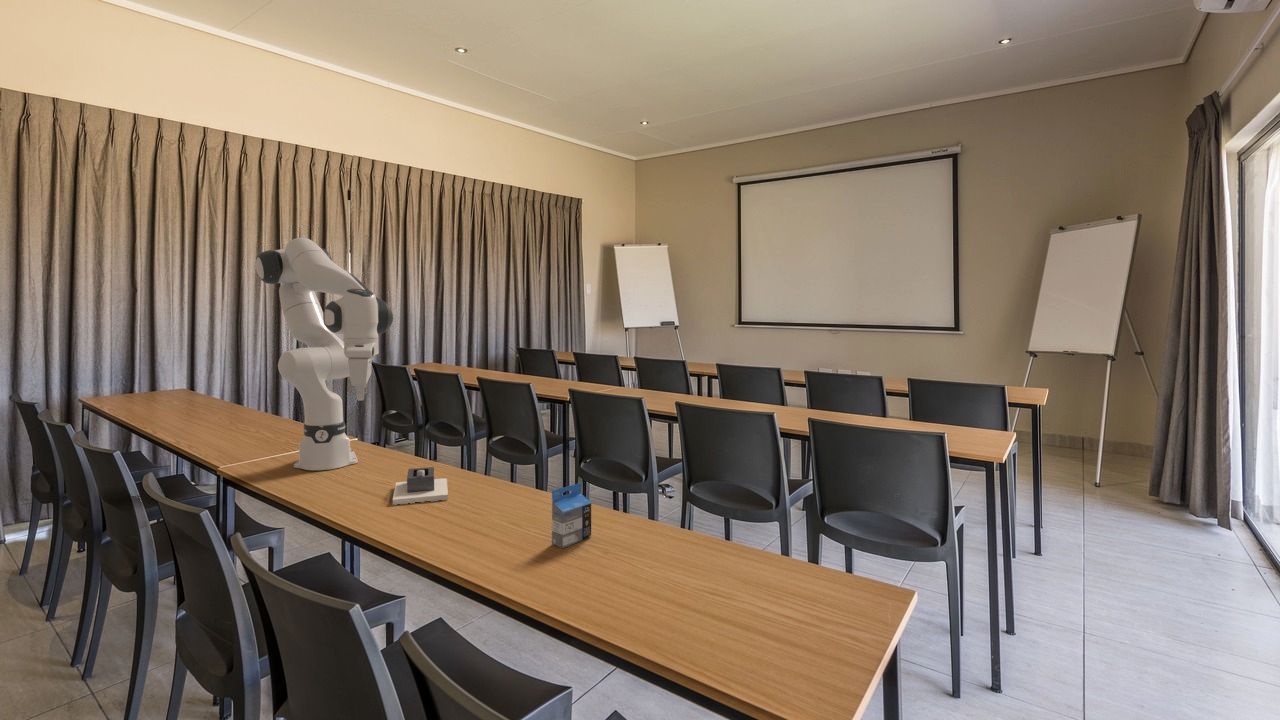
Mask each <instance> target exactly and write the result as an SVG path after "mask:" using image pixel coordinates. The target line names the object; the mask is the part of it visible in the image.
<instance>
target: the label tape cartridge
mask: <svg viewBox="0 0 1280 720" xmlns="http://www.w3.org/2000/svg"><path fill="white" fill-rule="evenodd" d="M581 485H582V484H581V482H578V483H575V484H571V485H567V486H565V487H561V488H558V489H554V490H551V501H552V502H551V504H552V505H551V544H552V545H553V546H555V547H558V548H560V549H565V548H568V547H570V546H572V545H574V544H575V545H576V544H578V543H580V542H583V541H585V540H587V539H590V538H592V502H591V501H590V500H588V498H586V496H584V495H583V494H582V491H581V490H582V489H581ZM566 491H567V492H570V493H567V494H564V493H566Z"/></svg>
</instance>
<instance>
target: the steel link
mask: <svg viewBox="0 0 1280 720" xmlns="http://www.w3.org/2000/svg"><path fill="white" fill-rule="evenodd" d="M418 470H424V471H425V476H417V471H418ZM434 479H435V467H434V466H428V467H417V468H414V467H413V468H408V470H407V476H406V482H407V493H411V492H422V491H434Z"/></svg>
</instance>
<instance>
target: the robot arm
mask: <svg viewBox="0 0 1280 720" xmlns="http://www.w3.org/2000/svg"><path fill="white" fill-rule="evenodd" d="M254 266H255V271H256V273H257V275H258V277H259V278H260V281H262V282H263V283H265V284H268V285H269V284H270V285H277V284H281V285H280V286H279V290H278V294H279V295H278V296H279V301H280V306H281V310H282V313H283V315H284V319H285V322H286V325H287V327H288V329H289V332H290V335H291V336H292V338H293V339H295V340H297V341H298V342H299V343H302V344H305V345H306V346H307V347H299V348H294V349H292V350H287V351H284V352H283V353H282V355H280V358H279V359H278V363H277V369H278V372H279V374H280V376H281V378H283V380H285V381H286V382H288V383H290V384H291V385H292V386H294V388H295V389H296V390H297V391H298V393H299V395H300V397H301V399H302V403H303V413H304V423H303V430H302V431H303V435H304V437H303V438H302V439H301V440H300V441H299V443H298V446H299V447H298V461H296V462H295V463H294V464H293V468H295V469H302V470H303V471H304V470H306V471H327V470H328V471H329V470H334V469H339V468H343V467H347V466H351V465H354V464H358V462H359V461H358V457H357V455H356V453H355V451H354V450H353V448H352V447H351V439H350V438H349V436H347V434H346V423H345V422H346V421H345V420H344V409H343V404H344V403H343V400H342V397H341V396H340V395H339V394H337V393H336V392H333V391H331V390H329V389H328V387H327V383H326V382H327V381H331V380H339V379H345V378H348V377H349V380H350V385H351V386H352V387H355V393H356V394H355V395H356V400H357V401H358V402H359V401H360V402H361V401H364V400H365V395H366V394H367V393H368V383H369V379H370V377H371V375H372V361H374V360H375V356H376V355H379V353H380V352H379V351H380V348H379V335H382V334H384V333H386V332H387V330H389V328H390V327H391V326H392V324H393V322H394V314H393V310H392V309H391V307H390V306H389V304H388V303H386V301H384V300H383V299H381V298H378V297H377V296H376V294H375V293H374V292H372V291H371V290H370V289H369V288H368V287H366V285H364V283H363V282H362V281H360V279H358V278H357V277H356V276H355V275H354V274H352V273H350V272H349V271H347V270H346V269H344V268H342V267H340V266H338V264H336V263H335V262H334V261H333V259H332V256H331V254H330V252H329V251H328V250H327V249H326V248H322V247H320V246H319V245H318V244H317V243H316V242H315V241H313V240H312V239H310V238H307V237H296V238H293V239H292V240H290V241H289V242H288V243H286V246H285V248H282V249H275V250H273V249H269V250H265V251H262V252H260V253H258V255H257V256H256V258H255V265H254ZM316 292H317V293H326V294H331V295H332V294H333V295H338V296H341V297H340V298H338V299H336V300H332V301H330V302H328V303H327V305H326V306H325V307H324V308H323V309H322V306H321V304H320V300H319V299H318V296H317V295H316V294H317V293H316ZM337 334H339V335H342V334H343V340H342V339H340V337H339V336H337Z"/></svg>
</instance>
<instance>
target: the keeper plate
mask: <svg viewBox="0 0 1280 720" xmlns="http://www.w3.org/2000/svg"><path fill="white" fill-rule="evenodd" d="M417 476H425V471H424V470H418V471H417ZM448 492H449V491H448V478H444V477H443V478H434V491H422V492H411V493H407V481H397V482H395V487H394V491H393V496H392V506H398V505H397V504H400V505H408V503H410V504H416V503H415V502H421V503H425V502H424V501H431V502H439V501H438V500H442V501H449V493H448Z"/></svg>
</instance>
